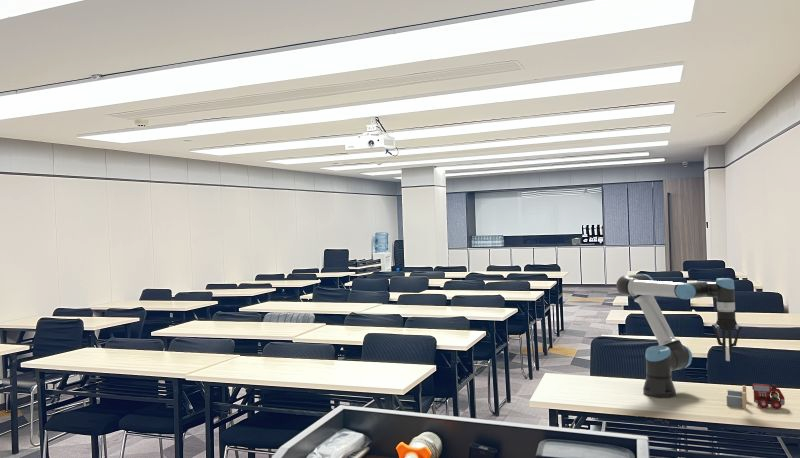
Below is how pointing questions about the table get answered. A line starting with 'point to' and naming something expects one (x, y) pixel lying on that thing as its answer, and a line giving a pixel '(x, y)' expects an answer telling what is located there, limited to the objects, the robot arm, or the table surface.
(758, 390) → the toy fire truck
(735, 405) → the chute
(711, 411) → the table surface
